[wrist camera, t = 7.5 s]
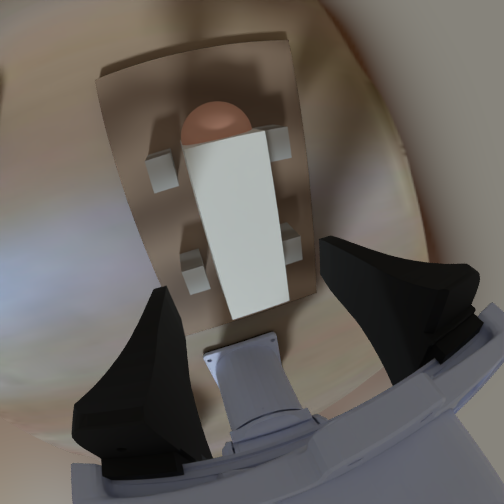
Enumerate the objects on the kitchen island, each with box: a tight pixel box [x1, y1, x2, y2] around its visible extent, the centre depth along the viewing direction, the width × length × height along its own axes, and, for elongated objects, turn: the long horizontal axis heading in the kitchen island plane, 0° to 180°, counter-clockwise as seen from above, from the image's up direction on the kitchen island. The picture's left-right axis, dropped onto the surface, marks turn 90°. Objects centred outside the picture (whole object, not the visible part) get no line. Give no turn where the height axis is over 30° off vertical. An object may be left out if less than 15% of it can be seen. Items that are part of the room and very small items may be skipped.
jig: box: [95, 40, 316, 336], centre depth 18 cm, size 22×13×4 cm, turn 11°
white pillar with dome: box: [180, 101, 289, 320], centre depth 17 cm, size 13×4×5 cm, turn 11°
